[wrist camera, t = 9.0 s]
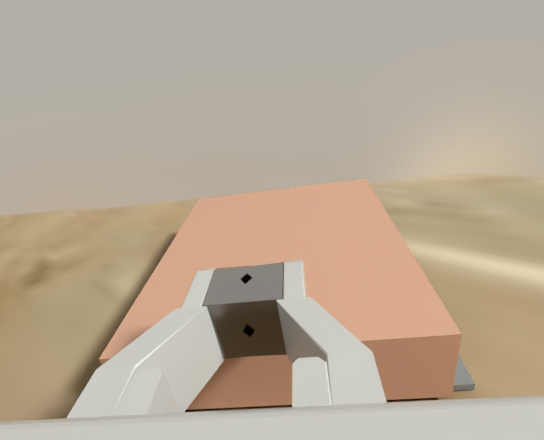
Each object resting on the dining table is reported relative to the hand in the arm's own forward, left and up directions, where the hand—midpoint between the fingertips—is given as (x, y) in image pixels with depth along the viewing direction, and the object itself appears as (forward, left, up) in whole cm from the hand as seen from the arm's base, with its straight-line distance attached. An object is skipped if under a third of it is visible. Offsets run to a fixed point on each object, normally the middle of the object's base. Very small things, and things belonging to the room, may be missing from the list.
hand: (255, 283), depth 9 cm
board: (0, 0, -4) cm, 4 cm away
